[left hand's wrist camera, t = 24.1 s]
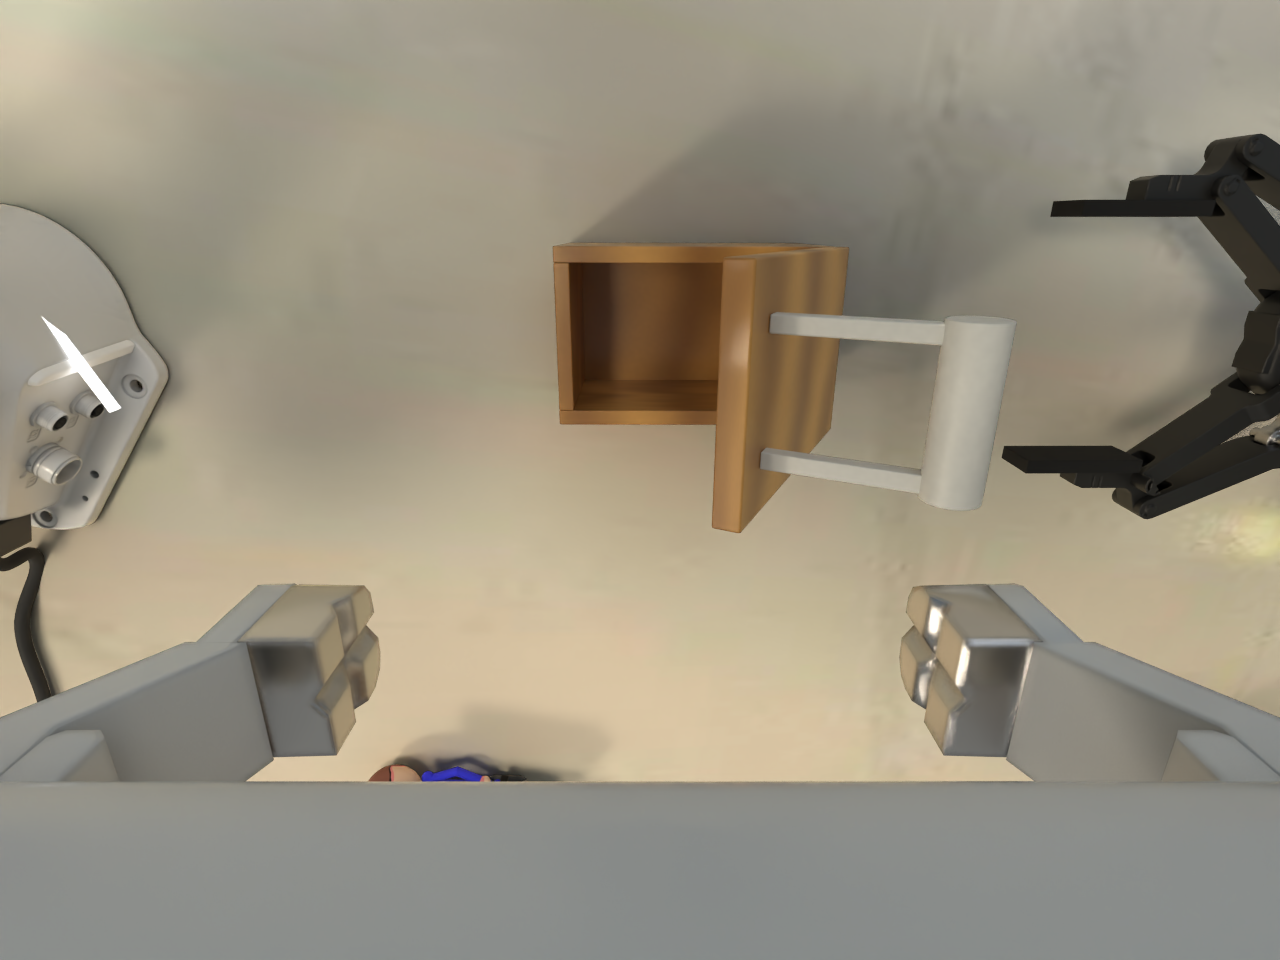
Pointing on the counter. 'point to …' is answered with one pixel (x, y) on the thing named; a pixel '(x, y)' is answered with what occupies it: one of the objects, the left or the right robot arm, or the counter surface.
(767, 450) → the lid
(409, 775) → the figurine character
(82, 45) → the counter surface
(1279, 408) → the right robot arm
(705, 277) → the chest
